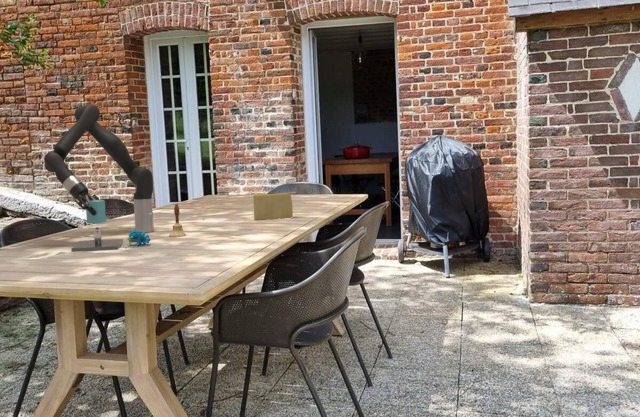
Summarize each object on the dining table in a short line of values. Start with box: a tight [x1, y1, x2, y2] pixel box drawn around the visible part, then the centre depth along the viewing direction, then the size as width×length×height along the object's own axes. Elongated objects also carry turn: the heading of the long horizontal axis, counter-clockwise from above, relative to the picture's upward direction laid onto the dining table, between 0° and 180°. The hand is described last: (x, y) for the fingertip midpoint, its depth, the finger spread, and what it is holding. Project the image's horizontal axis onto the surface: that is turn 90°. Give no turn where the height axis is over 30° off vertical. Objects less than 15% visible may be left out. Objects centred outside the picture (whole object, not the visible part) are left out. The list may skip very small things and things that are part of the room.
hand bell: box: [169, 203, 187, 238], centre depth 351 cm, size 8×8×16 cm
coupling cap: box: [85, 199, 107, 225], centre depth 322 cm, size 6×6×10 cm
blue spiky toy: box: [127, 229, 151, 247], centre depth 324 cm, size 11×6×10 cm
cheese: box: [252, 192, 294, 221], centre depth 405 cm, size 22×10×15 cm, turn 93°
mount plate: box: [70, 227, 124, 252], centre depth 323 cm, size 20×20×9 cm
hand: (99, 213), depth 322 cm, fingers closed on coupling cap, 6 cm apart
